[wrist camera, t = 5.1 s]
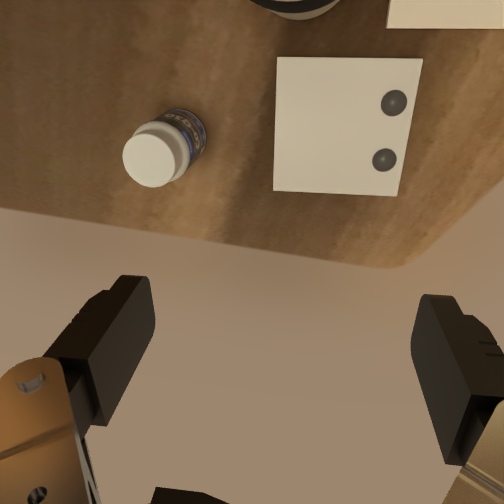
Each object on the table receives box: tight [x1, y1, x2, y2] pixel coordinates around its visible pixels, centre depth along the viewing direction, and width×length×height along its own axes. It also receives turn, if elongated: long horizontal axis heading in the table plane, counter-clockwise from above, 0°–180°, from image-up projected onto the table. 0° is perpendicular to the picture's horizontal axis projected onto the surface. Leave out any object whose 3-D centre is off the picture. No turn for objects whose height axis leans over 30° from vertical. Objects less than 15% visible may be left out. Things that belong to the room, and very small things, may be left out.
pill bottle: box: [123, 109, 206, 187], centre depth 32 cm, size 5×5×8 cm
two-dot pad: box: [273, 57, 423, 196], centre depth 34 cm, size 11×11×1 cm
